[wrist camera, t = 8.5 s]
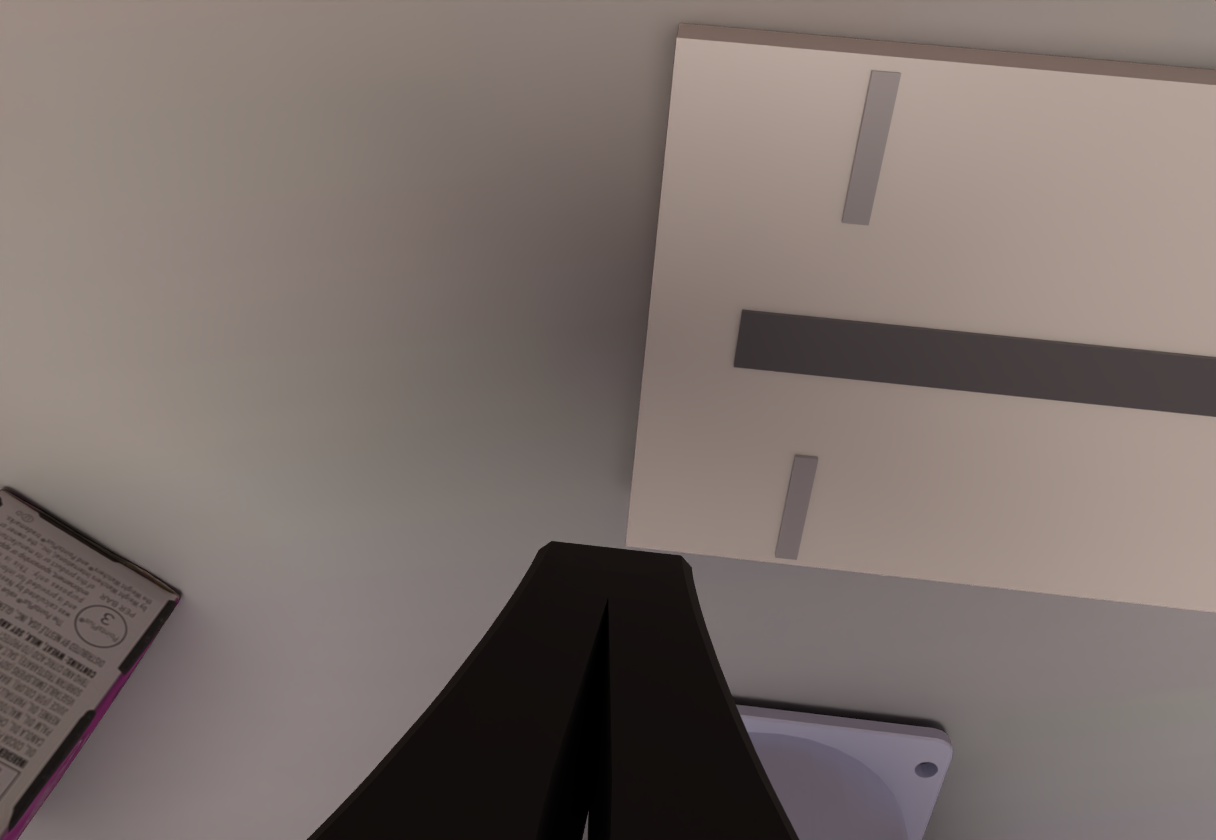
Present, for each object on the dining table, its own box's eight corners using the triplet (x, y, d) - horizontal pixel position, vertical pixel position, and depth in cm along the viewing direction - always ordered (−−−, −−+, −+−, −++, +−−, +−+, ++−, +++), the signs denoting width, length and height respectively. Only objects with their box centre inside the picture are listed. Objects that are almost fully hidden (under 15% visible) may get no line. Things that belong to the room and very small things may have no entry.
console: (1525, 586, 18) (1617, 661, 17) (632, 488, 19) (624, 550, 17) (1851, 126, 14) (2025, 158, 12) (679, 23, 15) (676, 38, 13)
